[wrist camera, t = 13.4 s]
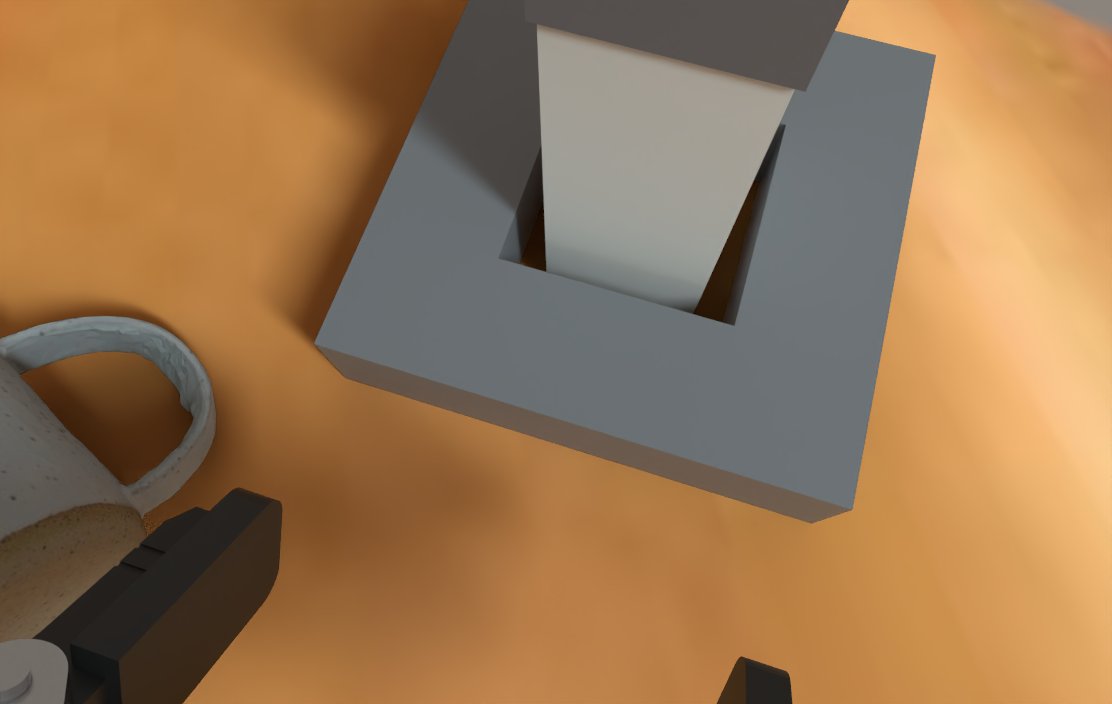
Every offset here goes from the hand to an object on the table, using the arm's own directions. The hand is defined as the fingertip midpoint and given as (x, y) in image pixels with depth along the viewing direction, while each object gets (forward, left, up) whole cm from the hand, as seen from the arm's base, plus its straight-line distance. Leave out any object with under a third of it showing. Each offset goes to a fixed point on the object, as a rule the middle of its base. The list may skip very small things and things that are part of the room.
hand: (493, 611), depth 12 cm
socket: (0, +12, -8) cm, 14 cm away
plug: (0, +12, -8) cm, 14 cm away
